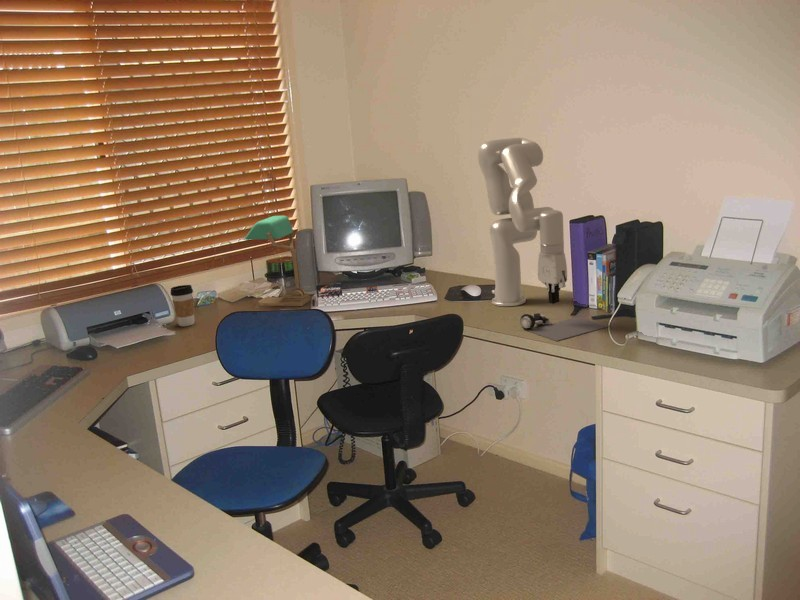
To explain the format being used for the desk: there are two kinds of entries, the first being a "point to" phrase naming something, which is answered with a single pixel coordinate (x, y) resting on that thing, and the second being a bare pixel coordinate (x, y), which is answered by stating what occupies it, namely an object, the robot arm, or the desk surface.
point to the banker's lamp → (275, 230)
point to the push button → (533, 321)
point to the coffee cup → (183, 304)
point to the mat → (567, 328)
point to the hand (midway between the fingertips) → (554, 302)
